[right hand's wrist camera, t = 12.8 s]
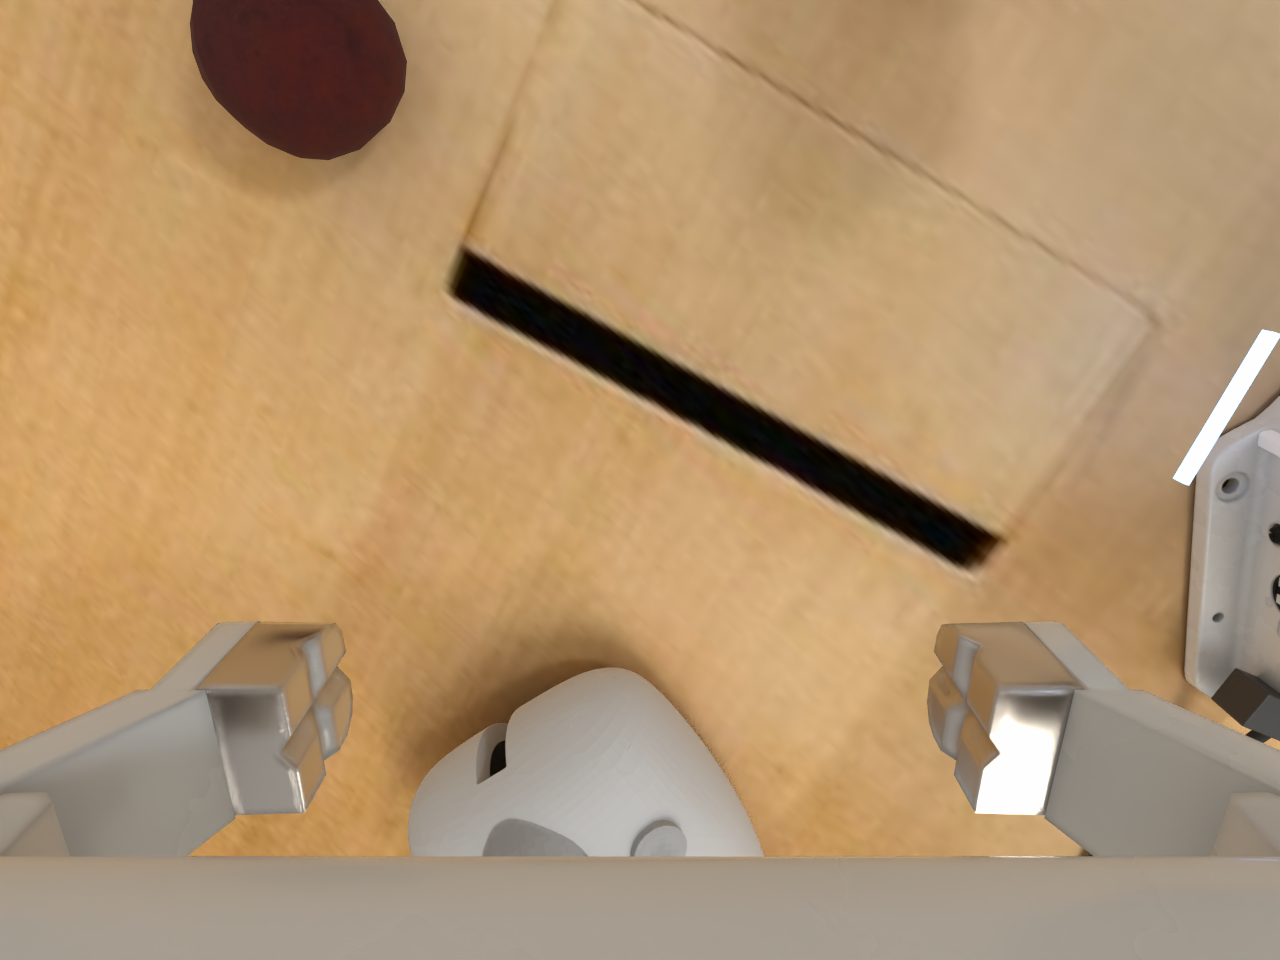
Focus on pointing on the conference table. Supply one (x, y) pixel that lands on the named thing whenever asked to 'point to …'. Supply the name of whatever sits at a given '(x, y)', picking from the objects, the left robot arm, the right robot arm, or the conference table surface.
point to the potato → (302, 69)
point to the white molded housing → (583, 781)
